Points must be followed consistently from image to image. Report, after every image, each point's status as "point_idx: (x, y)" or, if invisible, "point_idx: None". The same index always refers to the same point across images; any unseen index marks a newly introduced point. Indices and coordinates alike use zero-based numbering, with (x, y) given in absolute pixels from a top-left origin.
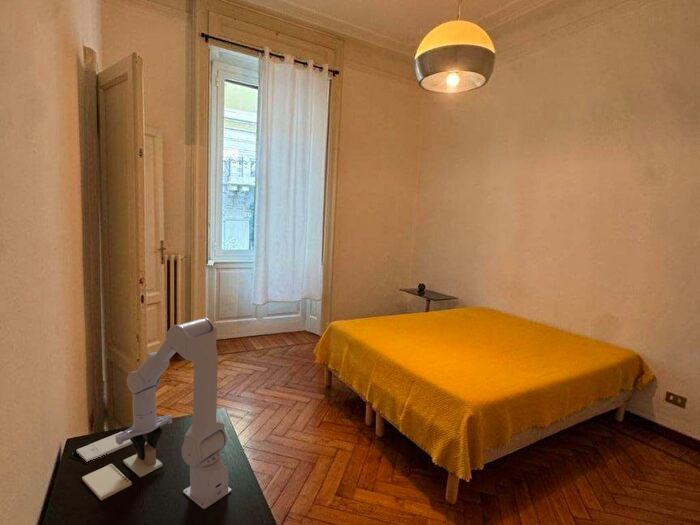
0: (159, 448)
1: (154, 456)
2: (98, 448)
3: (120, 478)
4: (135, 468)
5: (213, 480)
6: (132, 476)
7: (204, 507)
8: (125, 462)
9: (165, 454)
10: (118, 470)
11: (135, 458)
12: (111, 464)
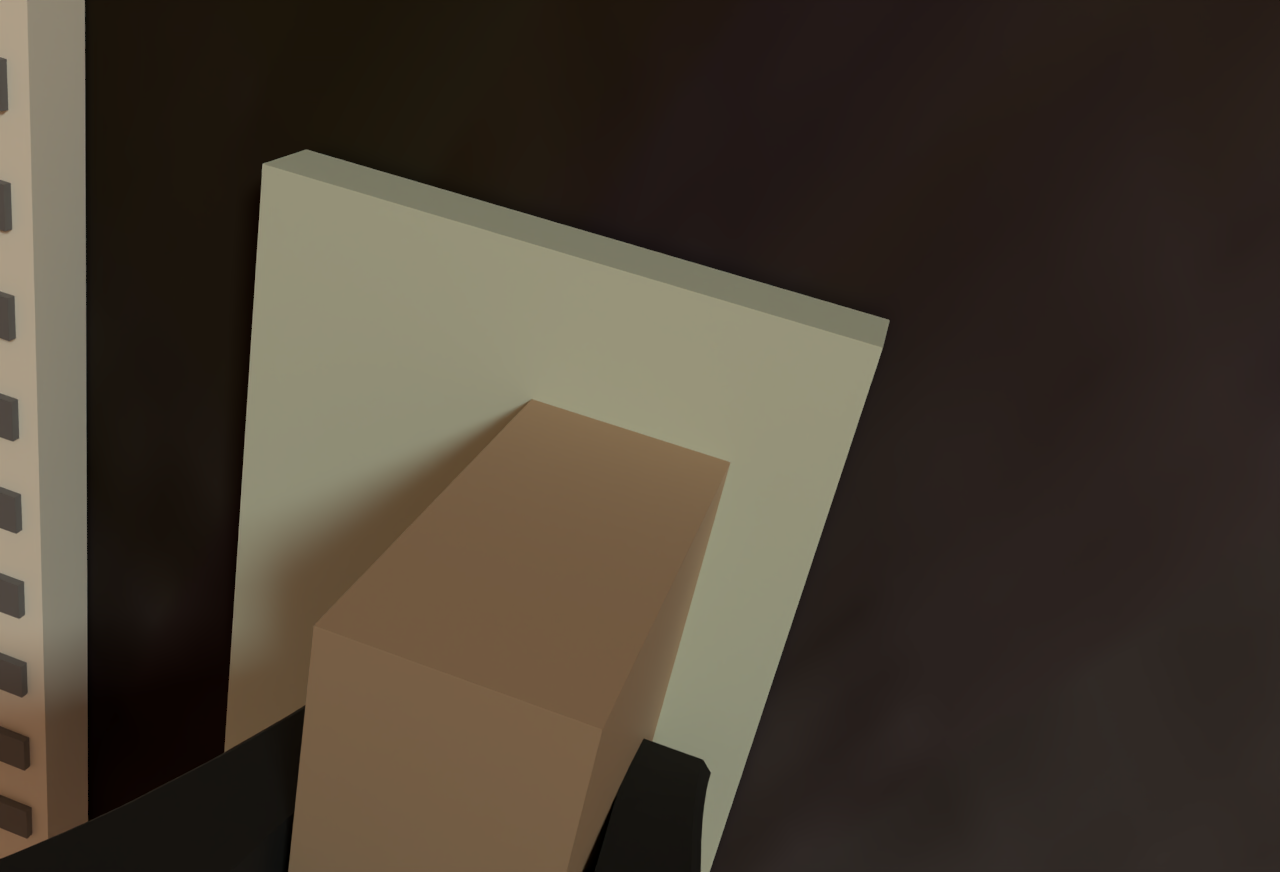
0: (1243, 529)
1: None
2: None
3: None
4: (260, 703)
5: None
6: (198, 705)
7: None
8: (259, 297)
9: (1038, 843)
10: (34, 407)
11: (466, 424)
12: (16, 19)
